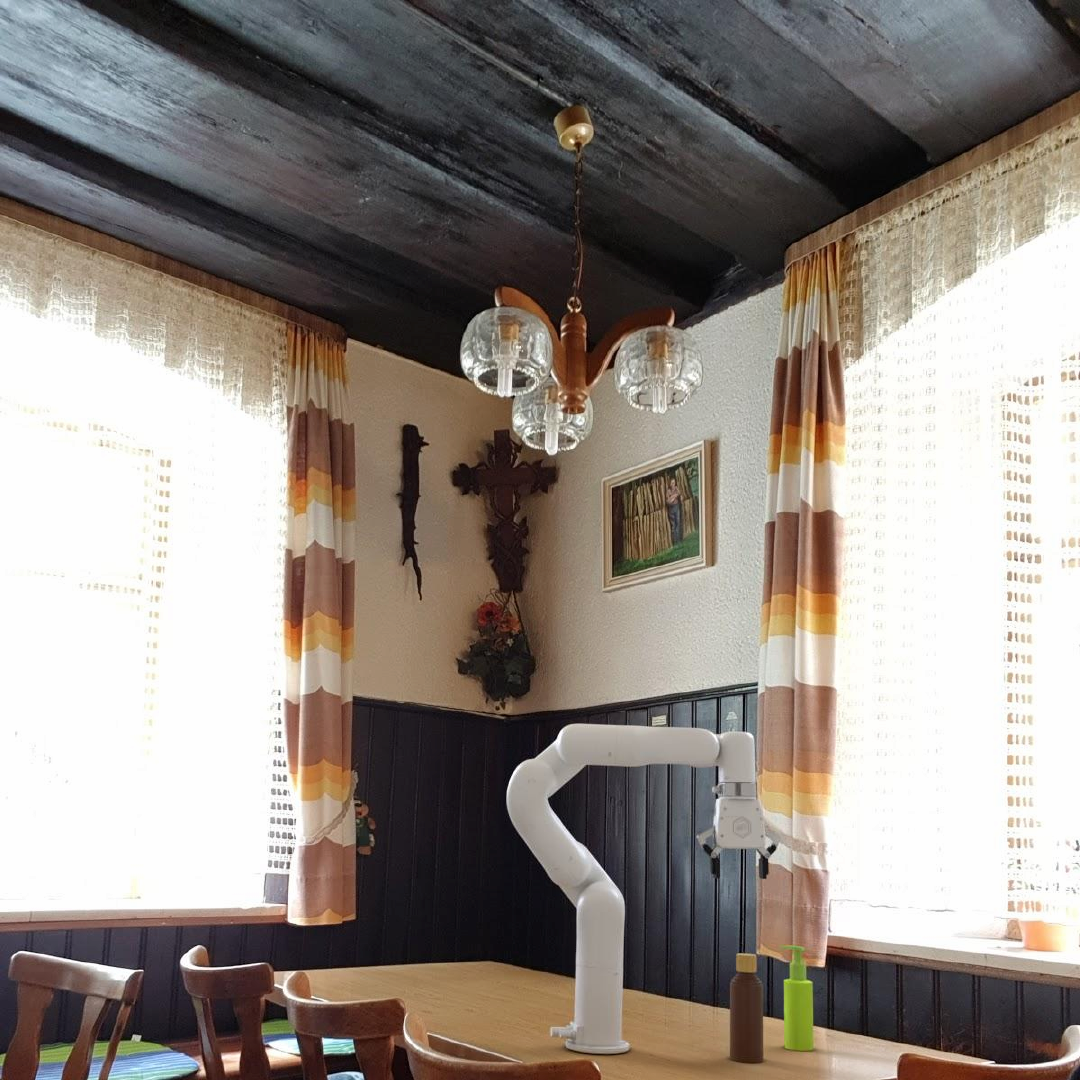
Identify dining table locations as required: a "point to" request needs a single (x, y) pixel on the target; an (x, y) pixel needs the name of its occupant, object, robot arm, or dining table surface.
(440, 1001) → the dining table surface
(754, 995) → the bottle
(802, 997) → the soap dispenser
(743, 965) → the cap
